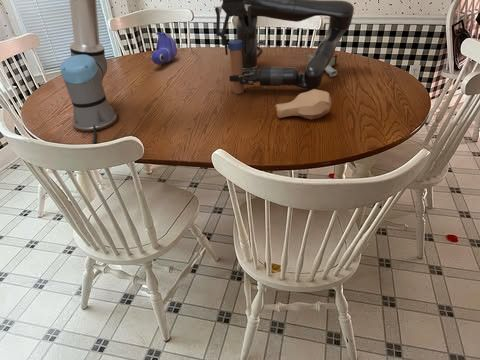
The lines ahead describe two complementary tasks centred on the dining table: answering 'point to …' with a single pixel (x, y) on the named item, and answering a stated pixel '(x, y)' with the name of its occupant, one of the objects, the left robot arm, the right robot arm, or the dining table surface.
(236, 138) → the dining table surface
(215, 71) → the dining table surface
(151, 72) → the dining table surface
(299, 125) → the dining table surface
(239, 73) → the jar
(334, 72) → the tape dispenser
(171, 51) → the toy
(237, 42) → the lid
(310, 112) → the squash
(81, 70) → the left robot arm
